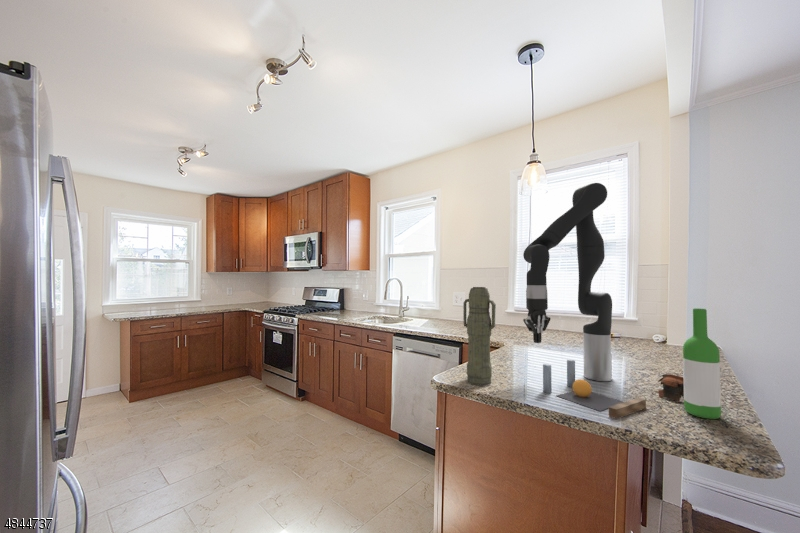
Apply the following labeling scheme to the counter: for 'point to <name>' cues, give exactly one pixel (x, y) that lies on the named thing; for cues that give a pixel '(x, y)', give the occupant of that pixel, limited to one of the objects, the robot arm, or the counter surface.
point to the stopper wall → (627, 407)
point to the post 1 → (547, 378)
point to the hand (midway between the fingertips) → (537, 342)
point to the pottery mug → (672, 387)
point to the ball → (582, 388)
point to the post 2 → (570, 372)
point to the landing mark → (591, 400)
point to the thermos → (479, 335)
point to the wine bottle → (701, 371)
